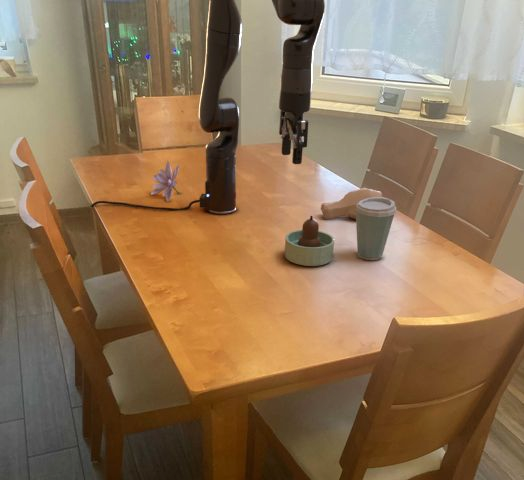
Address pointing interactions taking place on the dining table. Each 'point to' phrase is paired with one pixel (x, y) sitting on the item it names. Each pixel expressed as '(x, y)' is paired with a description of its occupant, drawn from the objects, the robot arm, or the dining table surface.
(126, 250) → the dining table surface
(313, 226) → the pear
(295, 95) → the robot arm
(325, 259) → the bowl
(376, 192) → the squash
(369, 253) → the disposable coffee cup
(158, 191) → the water lily
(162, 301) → the dining table surface
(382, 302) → the dining table surface
